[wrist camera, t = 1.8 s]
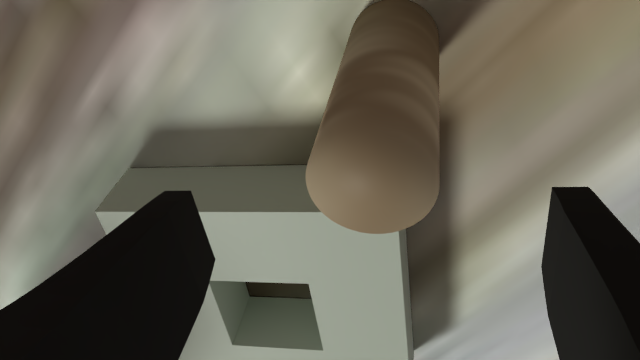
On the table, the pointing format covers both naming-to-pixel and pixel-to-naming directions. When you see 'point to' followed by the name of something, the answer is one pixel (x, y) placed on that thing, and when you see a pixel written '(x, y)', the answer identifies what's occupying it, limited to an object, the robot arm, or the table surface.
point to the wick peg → (381, 124)
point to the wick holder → (281, 268)
